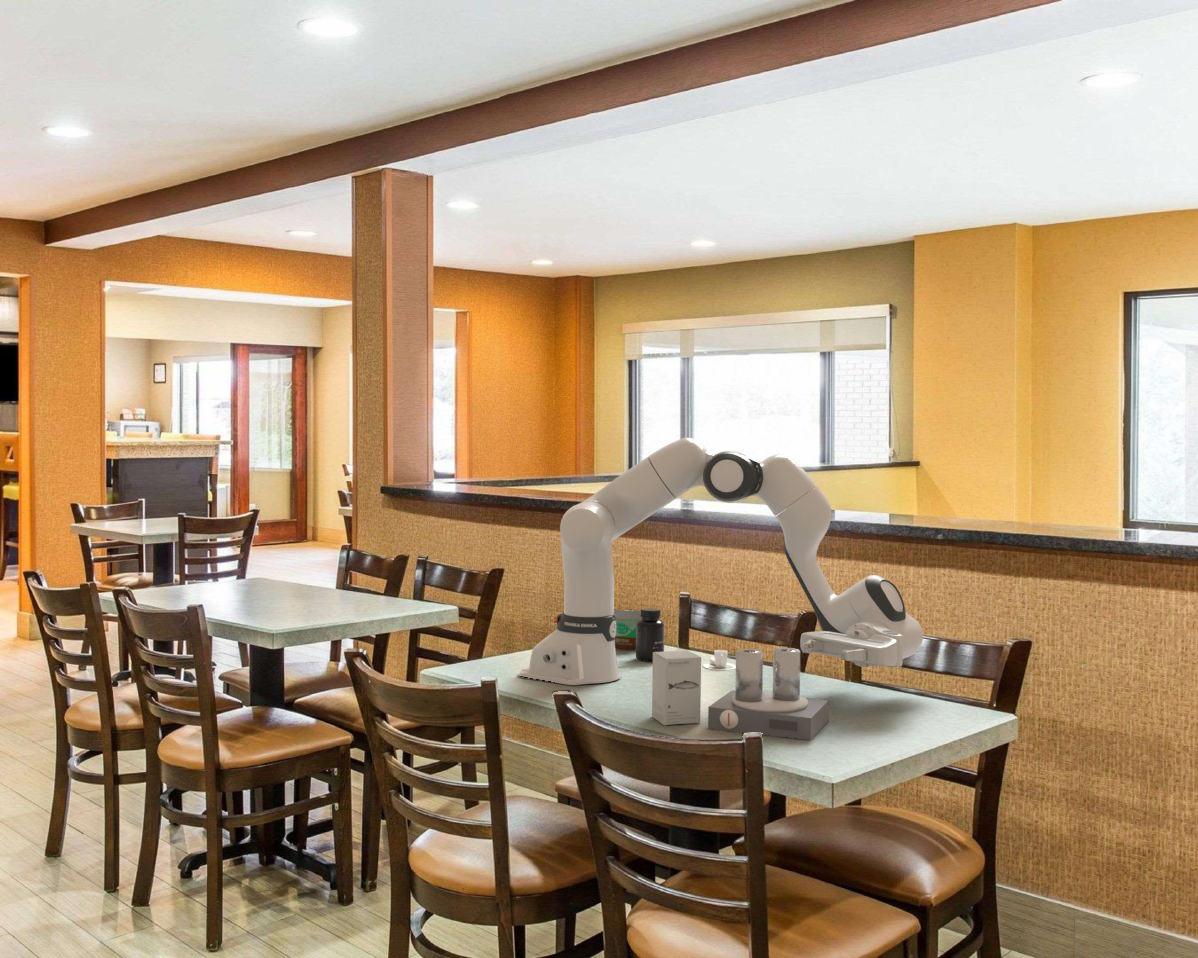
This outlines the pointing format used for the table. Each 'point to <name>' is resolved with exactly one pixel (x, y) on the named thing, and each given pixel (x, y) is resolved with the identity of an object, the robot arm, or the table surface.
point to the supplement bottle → (649, 634)
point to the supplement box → (676, 687)
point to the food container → (626, 629)
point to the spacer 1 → (749, 675)
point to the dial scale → (770, 716)
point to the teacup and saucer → (719, 660)
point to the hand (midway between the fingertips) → (824, 652)
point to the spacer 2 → (786, 674)
